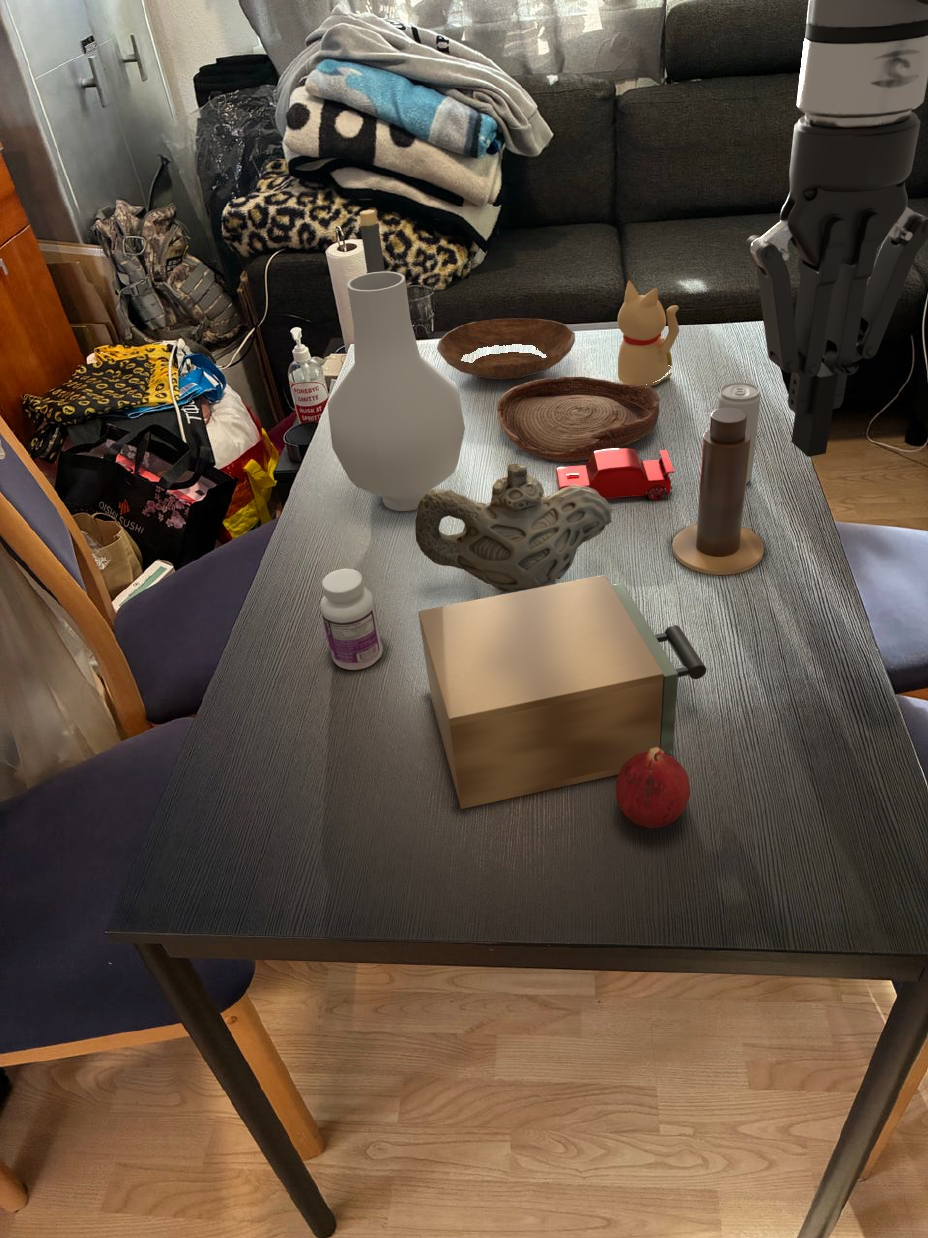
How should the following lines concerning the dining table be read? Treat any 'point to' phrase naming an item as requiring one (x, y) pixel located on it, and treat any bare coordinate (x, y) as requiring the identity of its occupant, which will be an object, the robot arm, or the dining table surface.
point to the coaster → (727, 565)
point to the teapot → (512, 530)
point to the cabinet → (540, 688)
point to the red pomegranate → (652, 788)
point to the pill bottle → (350, 620)
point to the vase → (393, 401)
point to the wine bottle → (371, 242)
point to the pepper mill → (723, 483)
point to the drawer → (665, 662)
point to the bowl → (501, 332)
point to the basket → (576, 416)
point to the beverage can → (747, 401)
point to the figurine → (645, 338)
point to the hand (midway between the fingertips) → (808, 447)
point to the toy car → (620, 474)
